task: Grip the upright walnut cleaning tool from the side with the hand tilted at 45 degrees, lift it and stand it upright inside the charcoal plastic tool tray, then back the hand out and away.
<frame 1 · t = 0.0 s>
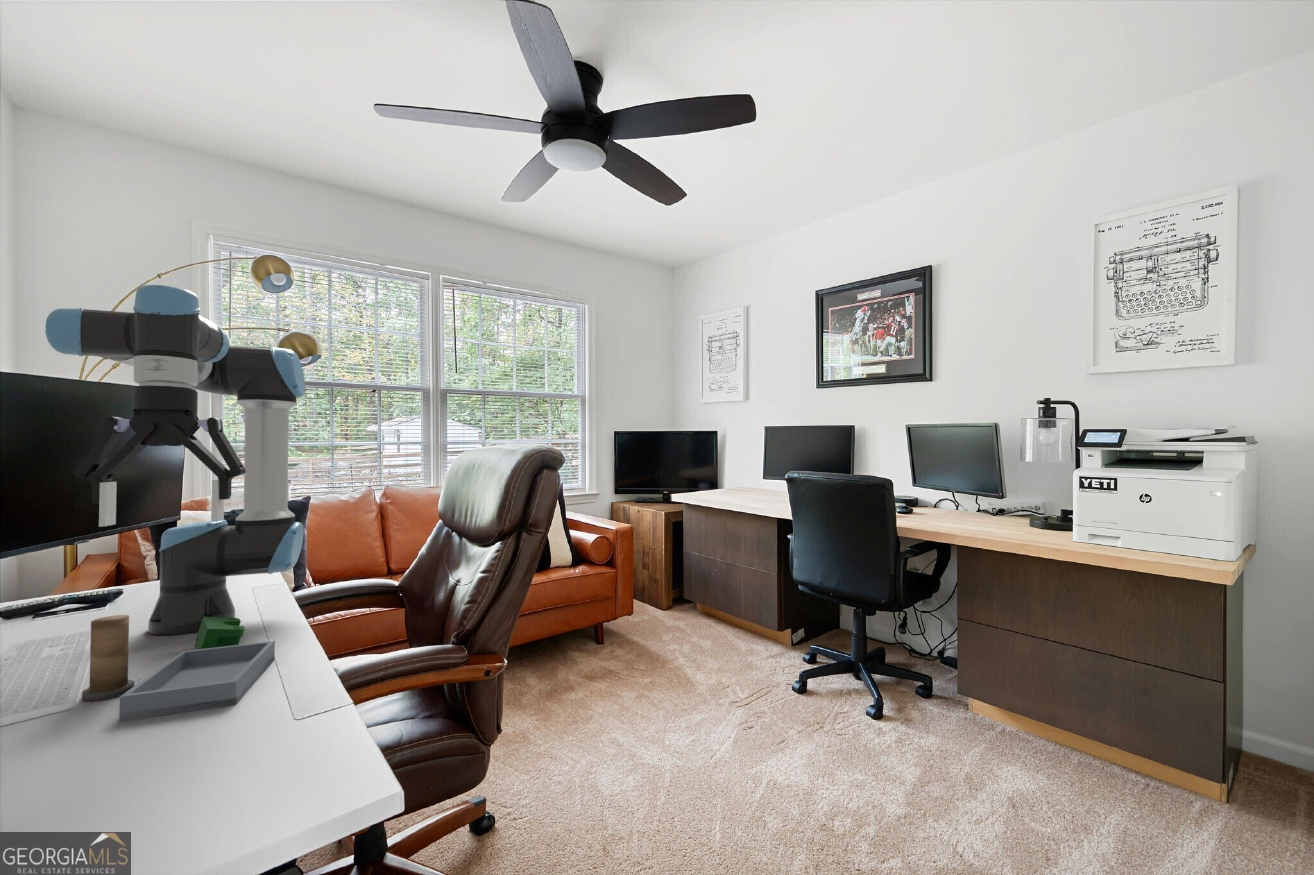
hand: (164, 523, 85), 28 cm above the table, tool pointing down, fingers open, 13 cm apart
tool: (108, 693, 89), on the table
clamp: (219, 650, 109), on the table
tray: (206, 686, 91), on the table
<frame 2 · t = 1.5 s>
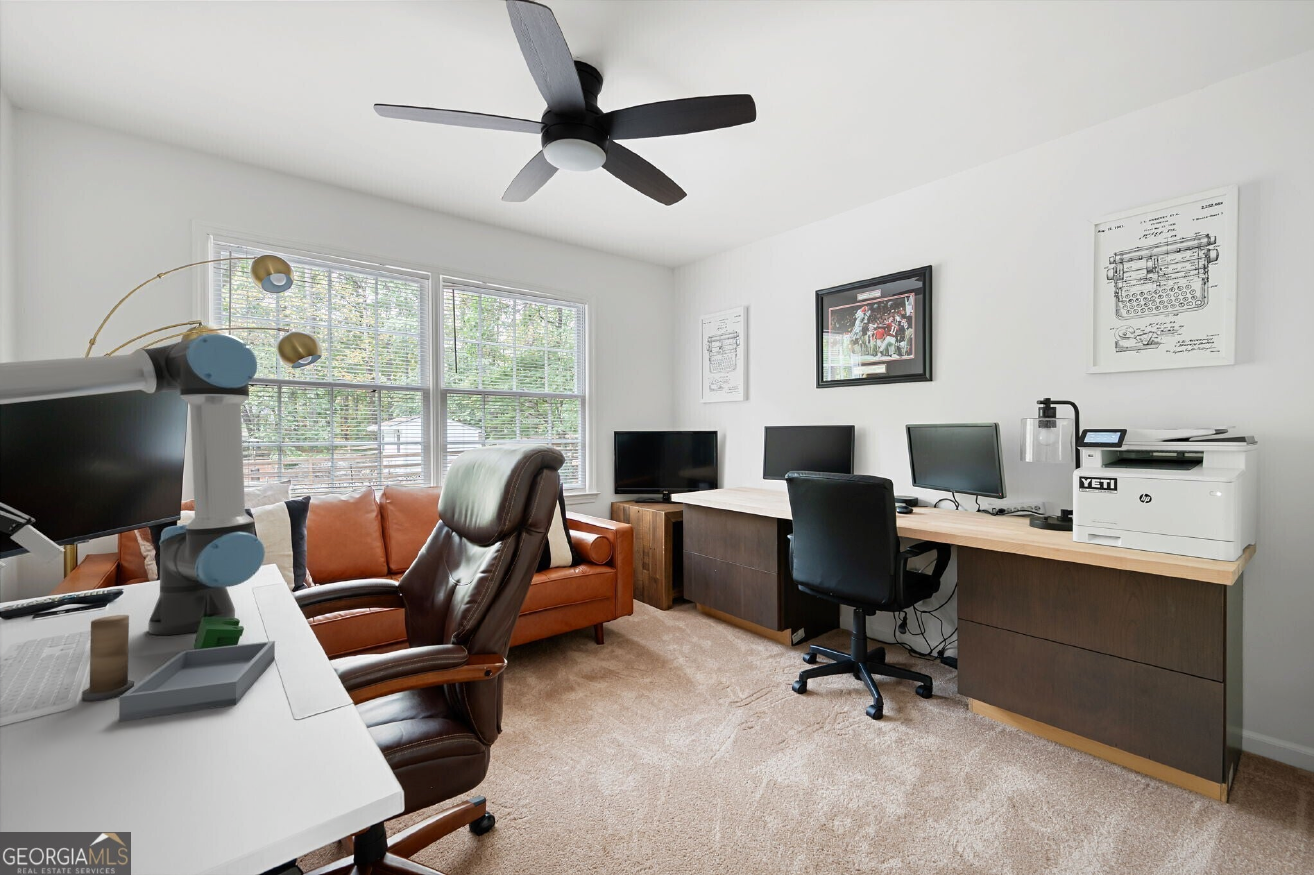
hand: (28, 564, 86), 22 cm above the table, tool tilted 45°, fingers open, 13 cm apart
nothing on the table moved.
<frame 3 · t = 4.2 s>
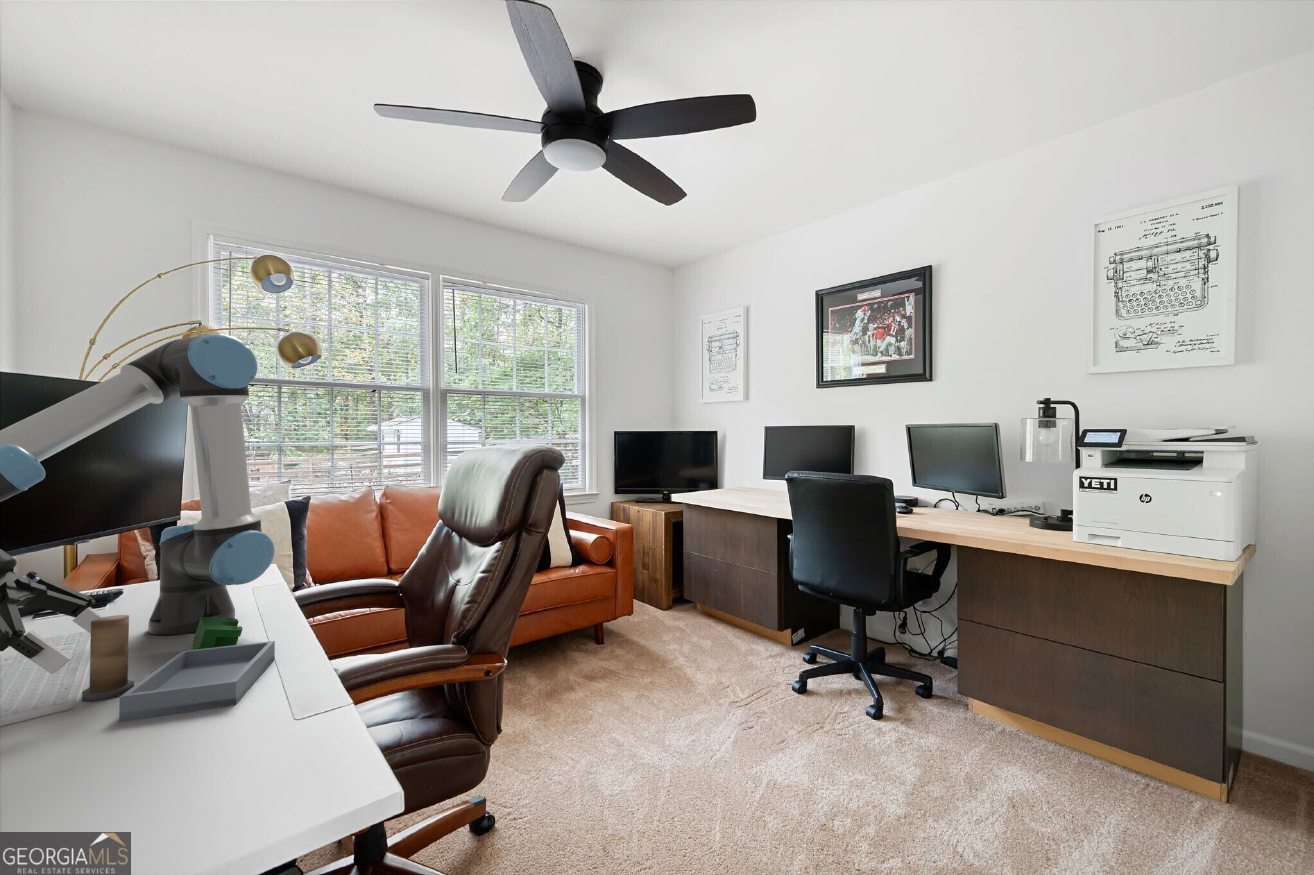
hand: (91, 651, 87), 7 cm above the table, tool tilted 45°, fingers open, 13 cm apart
nothing on the table moved.
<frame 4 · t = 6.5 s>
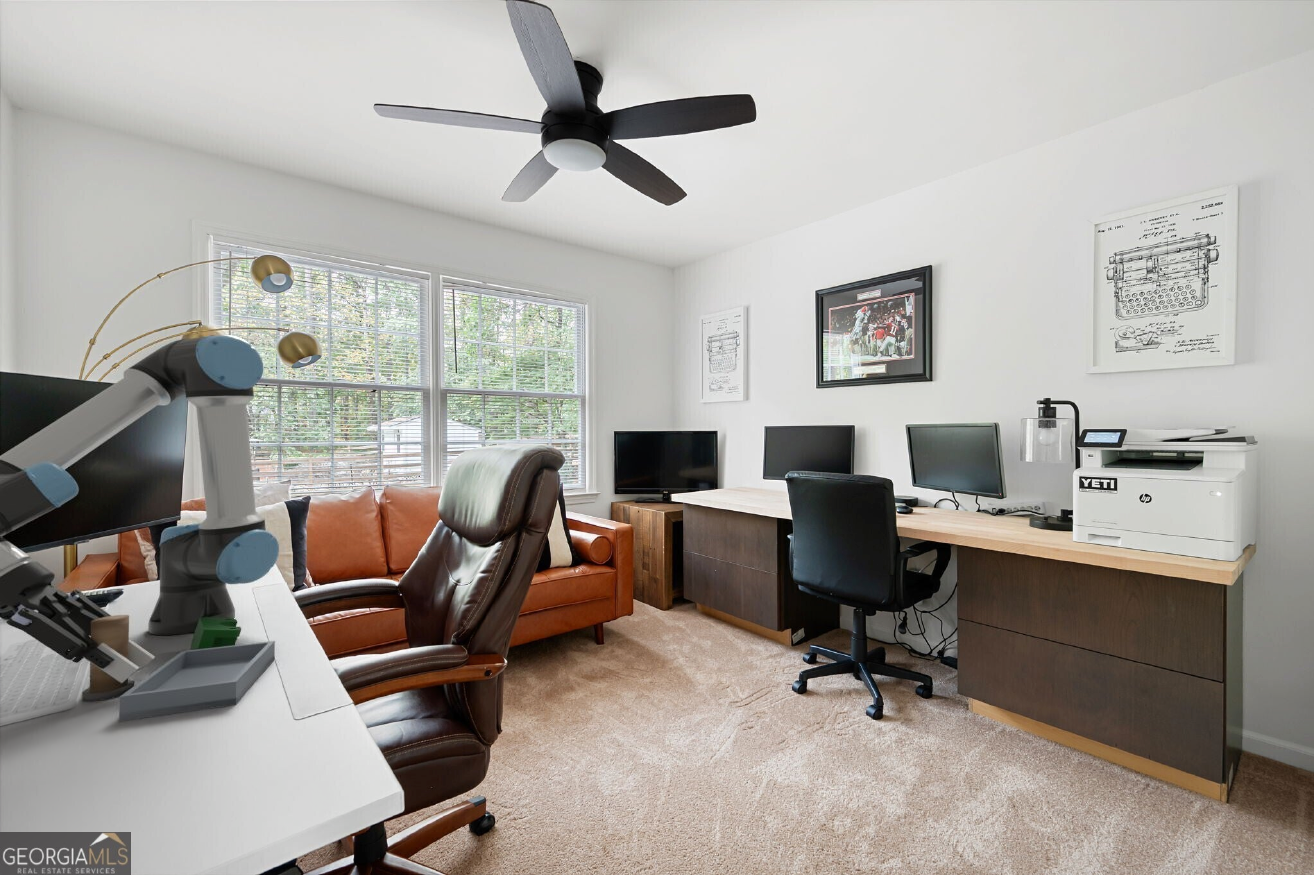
hand: (138, 669, 90), 3 cm above the table, tool tilted 45°, fingers closed on tool, 4 cm apart
tool: (108, 693, 89), on the table, touching gripper
everything else where it was.
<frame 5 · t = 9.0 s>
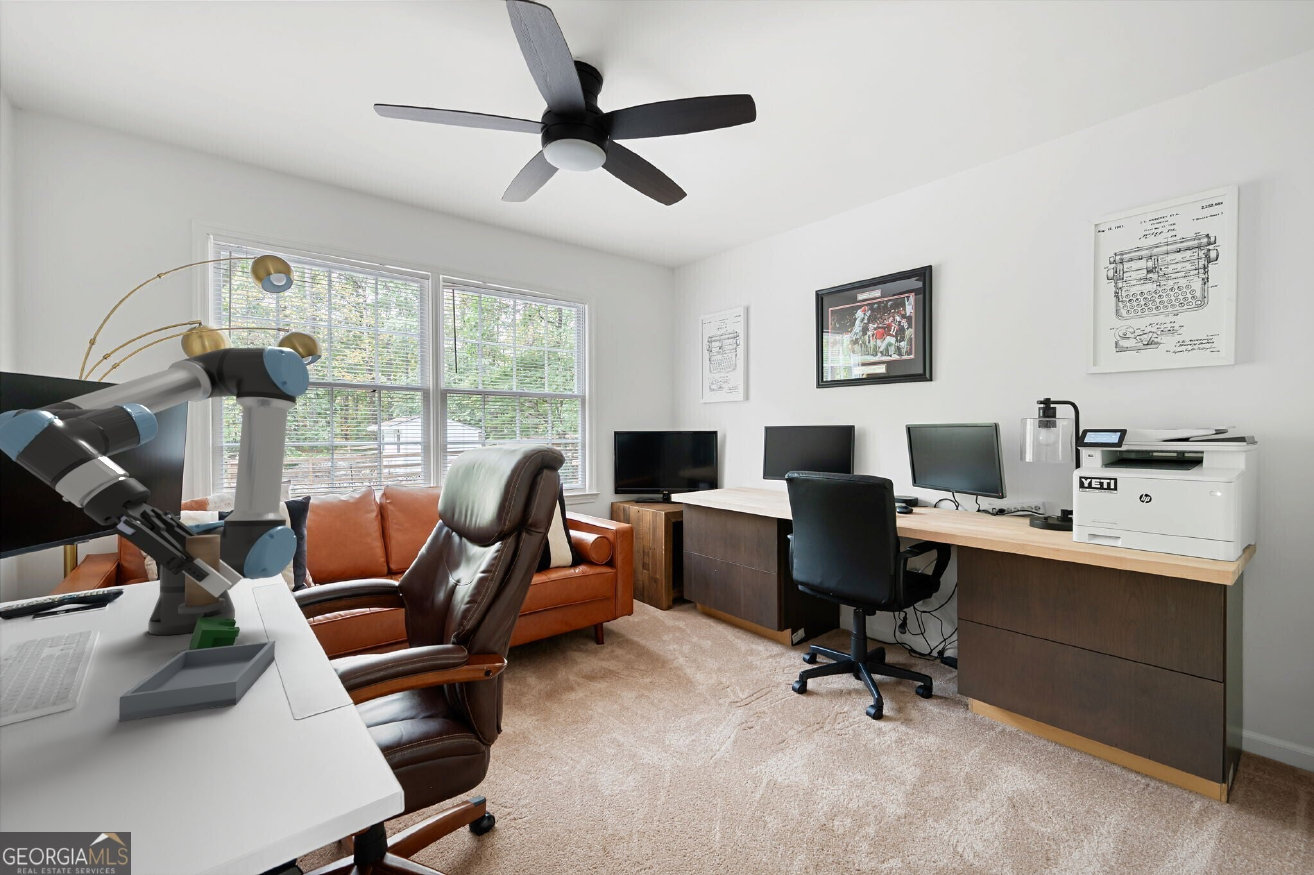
hand: (230, 586, 92), 16 cm above the table, tool tilted 45°, fingers closed on tool, 4 cm apart
tool: (202, 608, 91), point 13 cm above the table, touching gripper
everything else where it was.
when the fingers open (6 cm above the table, at t = 11.7 s): tool drops 1 cm, resting on tray.
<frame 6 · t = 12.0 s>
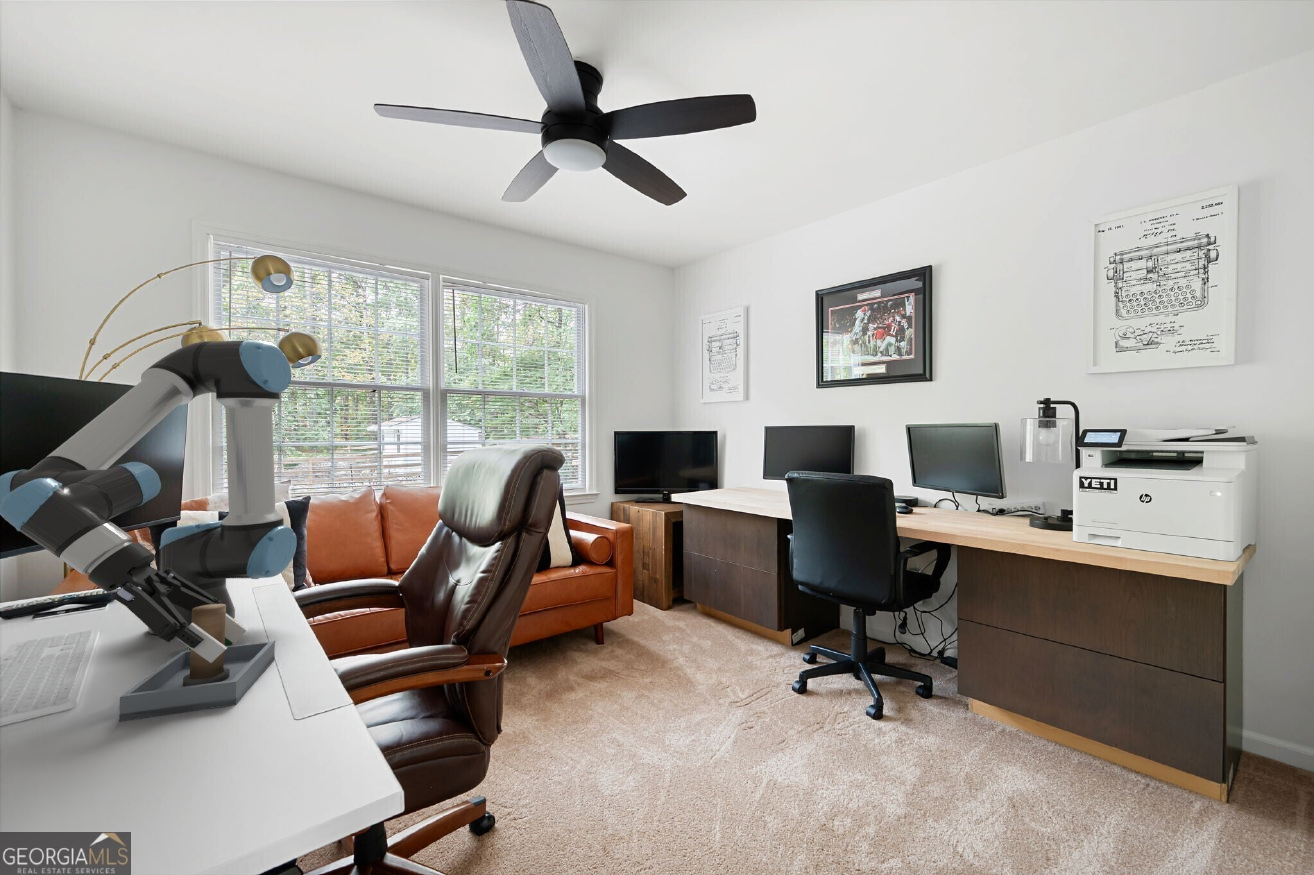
hand: (230, 645, 92), 6 cm above the table, tool tilted 45°, fingers open, 9 cm apart
tool: (206, 680, 91), point 1 cm above the table, touching tray
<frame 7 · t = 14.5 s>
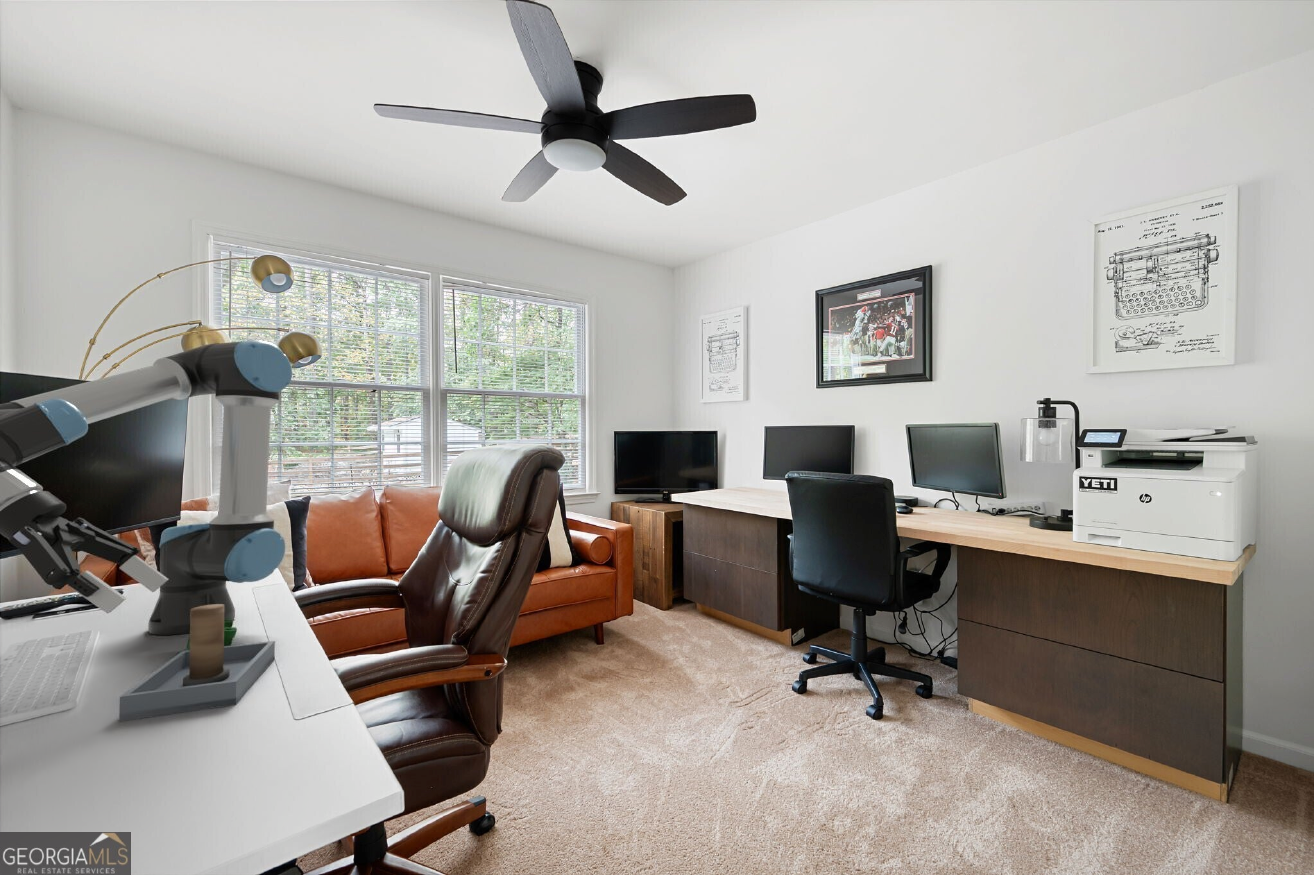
hand: (140, 595, 89), 16 cm above the table, tool tilted 45°, fingers open, 13 cm apart
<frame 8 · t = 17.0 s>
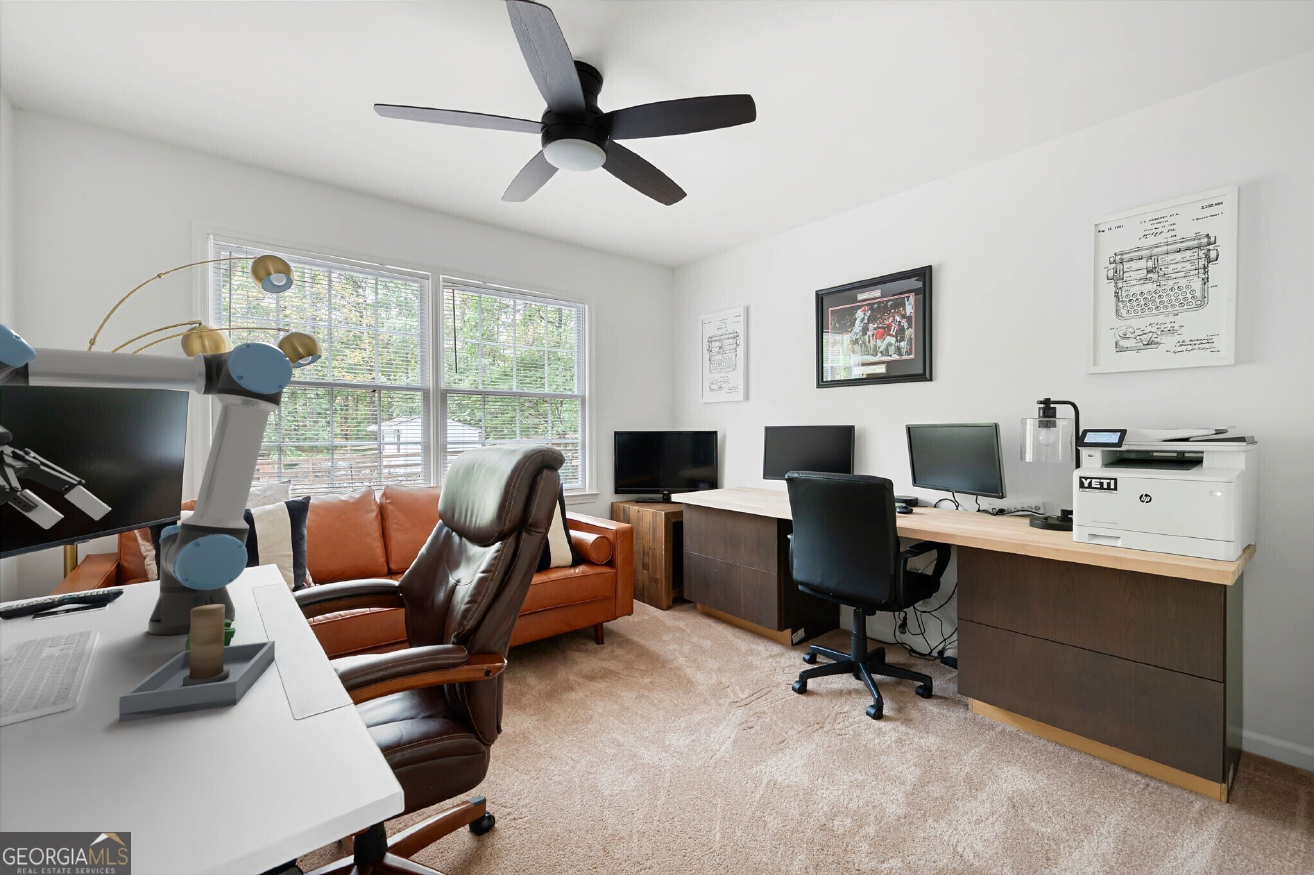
hand: (81, 518, 96), 28 cm above the table, tool tilted 45°, fingers open, 13 cm apart
at the end: tool inside the target area on the tray (0.1 cm from its centre), point 1.0 cm above the tray's base; tool tilted 0°; the gripper is holding nothing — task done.
